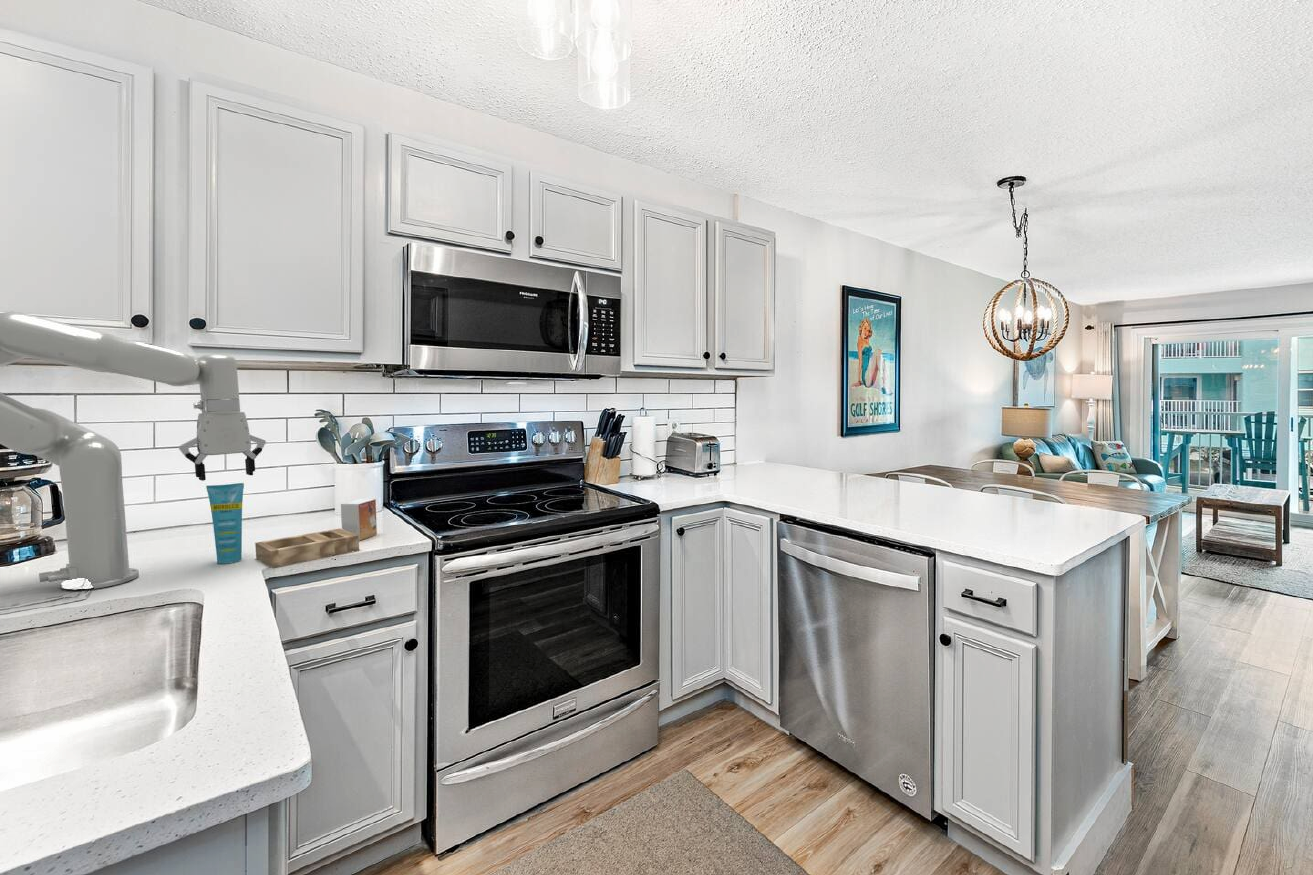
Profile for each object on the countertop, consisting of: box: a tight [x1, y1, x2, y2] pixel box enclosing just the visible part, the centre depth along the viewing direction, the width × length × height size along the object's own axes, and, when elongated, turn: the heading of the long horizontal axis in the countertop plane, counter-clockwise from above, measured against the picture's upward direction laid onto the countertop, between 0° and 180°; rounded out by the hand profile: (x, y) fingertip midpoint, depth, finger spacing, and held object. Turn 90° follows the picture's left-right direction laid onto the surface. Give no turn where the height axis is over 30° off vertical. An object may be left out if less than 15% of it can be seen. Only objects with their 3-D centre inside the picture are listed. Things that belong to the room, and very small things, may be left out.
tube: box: [206, 482, 245, 565], centre depth 146 cm, size 7×5×19 cm, turn 123°
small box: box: [340, 498, 378, 542], centre depth 169 cm, size 8×6×10 cm
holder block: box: [254, 528, 360, 569], centre depth 152 cm, size 20×12×4 cm, turn 139°
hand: (226, 477), depth 145 cm, fingers open, 9 cm apart
